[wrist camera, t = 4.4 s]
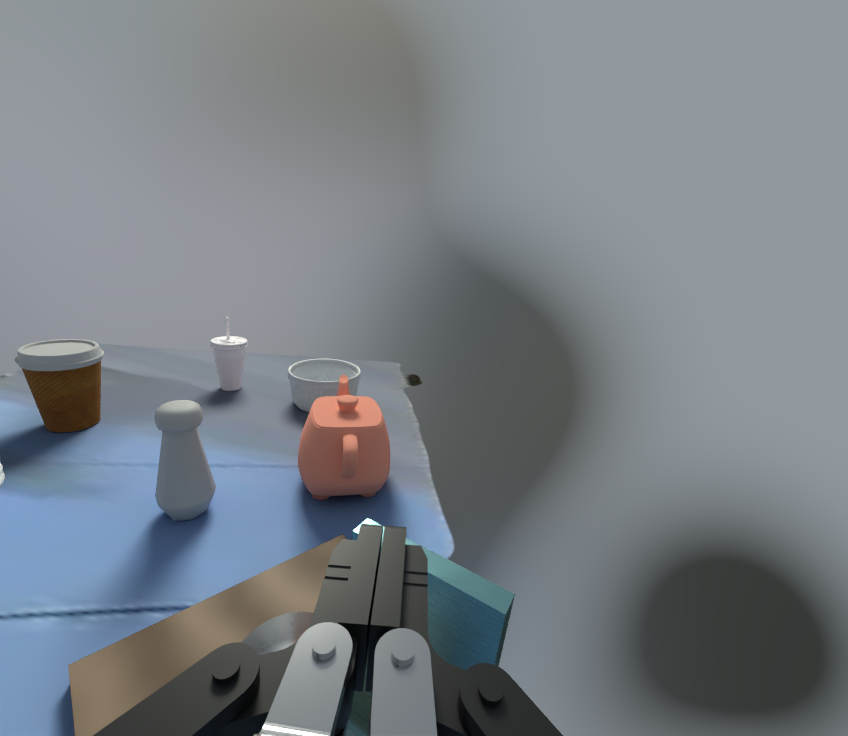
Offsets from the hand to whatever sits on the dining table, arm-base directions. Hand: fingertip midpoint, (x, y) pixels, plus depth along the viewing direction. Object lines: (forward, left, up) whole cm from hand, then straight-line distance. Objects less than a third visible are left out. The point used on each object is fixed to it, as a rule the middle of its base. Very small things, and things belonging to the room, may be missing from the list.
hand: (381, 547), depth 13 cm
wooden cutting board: (+2, +10, -23) cm, 25 cm away
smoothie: (+18, +70, -23) cm, 76 cm away
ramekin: (+30, +55, -23) cm, 67 cm away
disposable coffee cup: (-6, +66, -23) cm, 70 cm away
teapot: (+20, +32, -23) cm, 44 cm away
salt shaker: (+2, +36, -23) cm, 43 cm away
